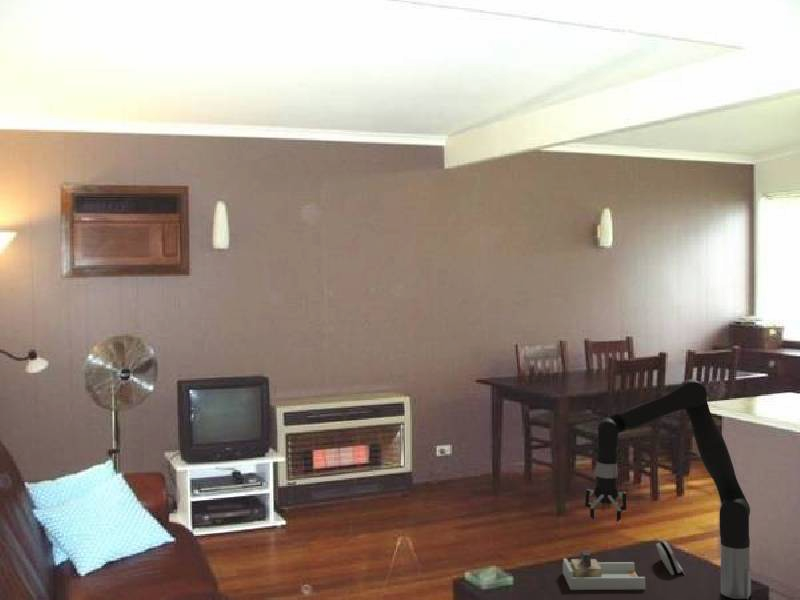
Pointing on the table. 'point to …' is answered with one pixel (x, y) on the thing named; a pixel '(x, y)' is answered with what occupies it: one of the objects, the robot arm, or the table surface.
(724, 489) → the robot arm
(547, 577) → the table surface
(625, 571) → the bay
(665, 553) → the hinge
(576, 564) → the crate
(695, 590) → the table surface
